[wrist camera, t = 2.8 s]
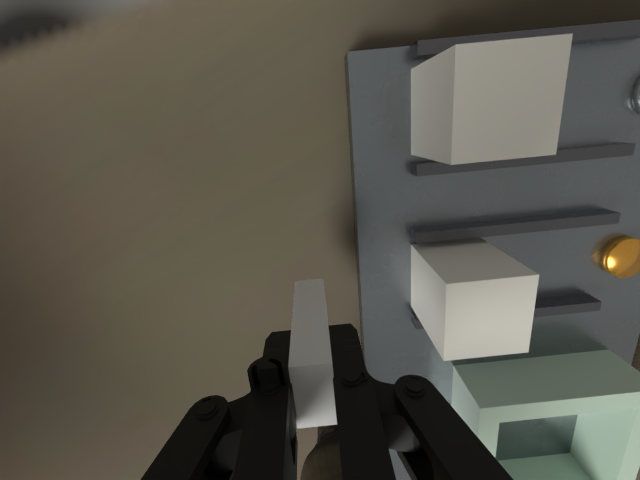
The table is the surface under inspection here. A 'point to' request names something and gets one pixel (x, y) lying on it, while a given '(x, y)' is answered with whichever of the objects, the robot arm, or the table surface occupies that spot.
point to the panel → (503, 215)
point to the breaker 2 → (472, 298)
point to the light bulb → (324, 456)
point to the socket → (558, 411)
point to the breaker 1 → (490, 100)
